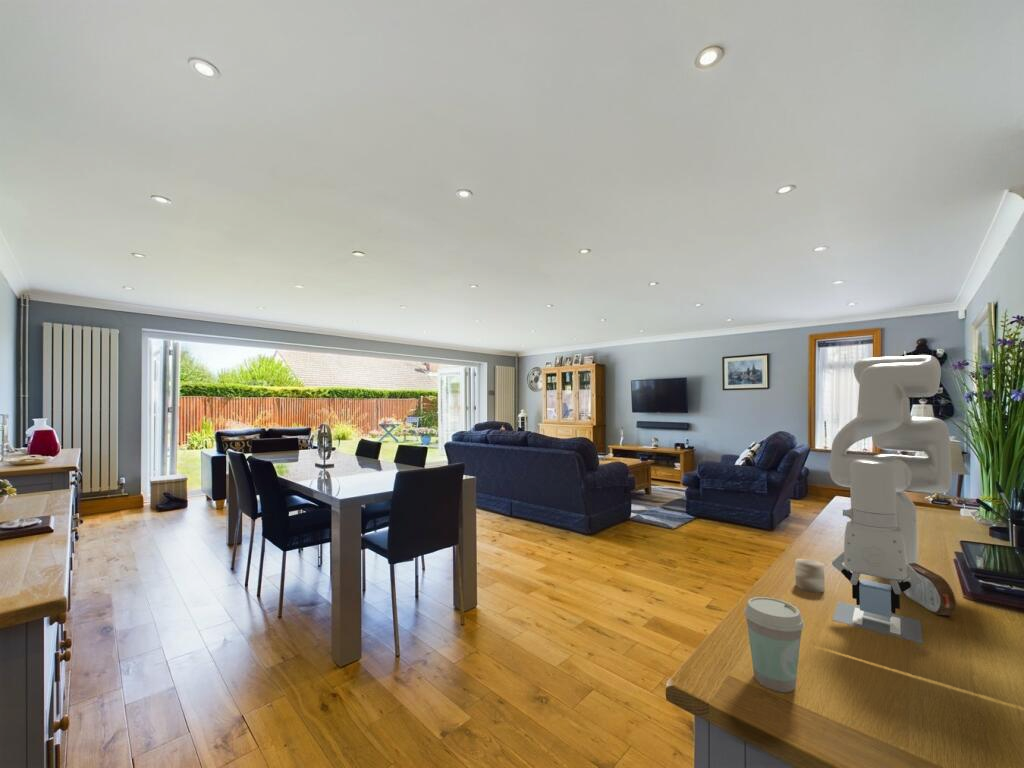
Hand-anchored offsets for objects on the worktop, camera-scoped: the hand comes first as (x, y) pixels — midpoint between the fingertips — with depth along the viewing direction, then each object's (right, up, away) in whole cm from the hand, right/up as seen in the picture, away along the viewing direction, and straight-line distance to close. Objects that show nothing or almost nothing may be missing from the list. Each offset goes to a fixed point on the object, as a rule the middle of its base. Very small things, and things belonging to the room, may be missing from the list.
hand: (875, 606), depth 93 cm
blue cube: (0, -1, 0) cm, 1 cm away
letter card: (0, -3, 0) cm, 3 cm away
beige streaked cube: (-3, -4, +17) cm, 17 cm away
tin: (+17, -4, +8) cm, 19 cm away
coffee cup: (-33, -2, -20) cm, 39 cm away
